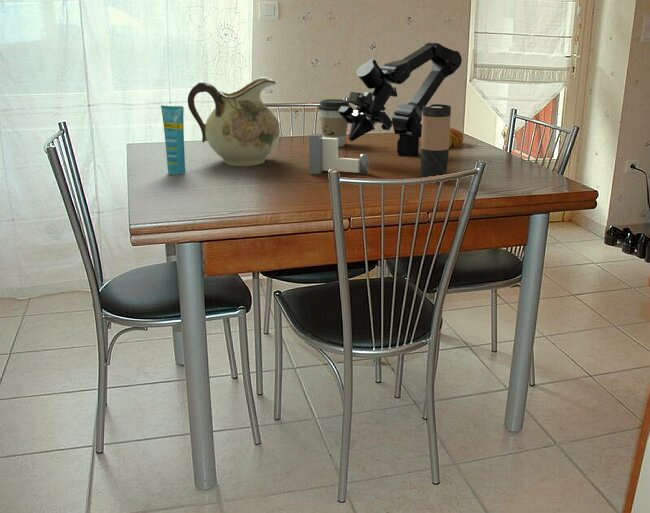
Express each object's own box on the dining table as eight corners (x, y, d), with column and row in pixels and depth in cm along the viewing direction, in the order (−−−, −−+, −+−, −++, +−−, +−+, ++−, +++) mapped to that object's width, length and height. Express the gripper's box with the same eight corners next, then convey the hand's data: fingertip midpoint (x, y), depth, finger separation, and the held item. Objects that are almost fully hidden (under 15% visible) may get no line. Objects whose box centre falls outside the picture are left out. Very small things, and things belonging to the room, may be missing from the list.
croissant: (418, 154, 245) (418, 131, 241) (423, 140, 258) (423, 118, 255) (462, 155, 242) (462, 132, 238) (464, 140, 255) (465, 118, 251)
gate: (359, 171, 209) (360, 139, 206) (358, 172, 207) (358, 140, 204) (313, 168, 212) (313, 136, 209) (311, 169, 211) (311, 138, 208)
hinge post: (368, 172, 209) (368, 153, 207) (368, 174, 206) (368, 155, 204) (360, 172, 209) (360, 153, 207) (359, 174, 206) (359, 155, 205)
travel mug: (446, 182, 197) (450, 108, 190) (418, 181, 199) (421, 107, 192) (447, 176, 204) (451, 104, 198) (420, 175, 206) (423, 103, 199)
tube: (161, 174, 207) (155, 106, 201) (169, 170, 211) (164, 103, 205) (184, 175, 205) (180, 107, 198) (192, 172, 209) (188, 105, 203)
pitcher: (295, 161, 223) (293, 78, 214) (237, 174, 206) (232, 85, 198) (247, 152, 237) (243, 74, 229) (189, 164, 221) (182, 80, 213)
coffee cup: (311, 146, 247) (311, 101, 242) (328, 141, 256) (328, 98, 251) (339, 149, 241) (340, 103, 237) (356, 144, 251) (357, 100, 246)
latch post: (322, 172, 209) (322, 134, 206) (319, 174, 206) (319, 135, 203) (312, 171, 210) (312, 133, 206) (309, 173, 207) (309, 135, 204)
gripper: (342, 78, 220) (315, 119, 217) (385, 83, 206) (357, 127, 204) (361, 102, 227) (335, 142, 224) (404, 108, 214) (377, 151, 211)
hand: (350, 140), depth 216 cm, fingers closed
